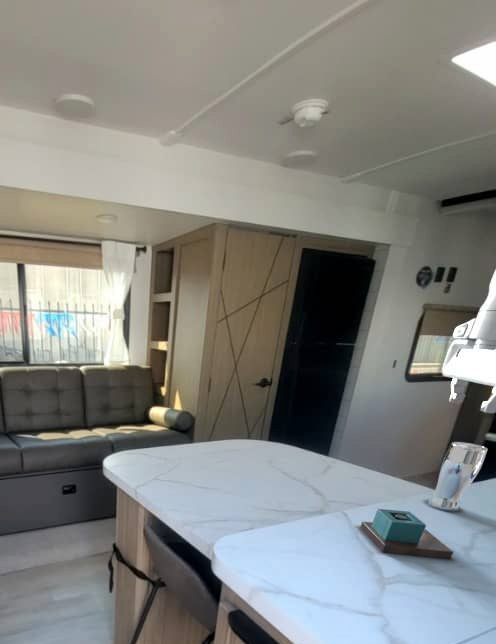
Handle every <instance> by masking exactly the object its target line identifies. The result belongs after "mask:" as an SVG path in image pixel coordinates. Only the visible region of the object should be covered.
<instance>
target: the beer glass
mask: <svg viewBox="0 0 496 644" xmlns="http://www.w3.org/2000/svg"><path fill="white" fill-rule="evenodd" d="M487 452H488V448H487V447H485V446H483V445H479V444H475V443H470V442H464V441H463V442H462V441H452V442H451V443H450V444H449V448H448V449H447V451H446V453H445V454H444V457H443V458H442V462H441V464H440V469H439V473H438V478H437V483H436V486H435V490H434V491H433V493H432V495H431V497H429V499H428V500H427V503H428V505H429V506H431V507H433V508H436V509H438V510H442V511H446V512H457V511H459V510H460V506H461V501H462V498H463V497H464V494H465V492H466V491H467V490H468V488H469V487H470V485H471V484H472V483H473V481H474V480H475V478H476V477H477V475H478V474H479V472H480V470H481V468H482V466H483V463H484V461H485V458H486V455H487Z"/></svg>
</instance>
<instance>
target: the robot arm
mask: <svg viewBox="0 0 496 644" xmlns="http://www.w3.org/2000/svg"><path fill="white" fill-rule="evenodd" d="M487 293H488V294H487V297H486V299H485V301H484V302H483V303H482V305H481V306H480V307H479V311H478V312H477V314H476V317H474V318H472V319H470V320H468V321H467V322H465V323H461V324H460V325H458V326H456V327H455V328H454V331H453V334H452V338H453V339H454V340H453V341H452V342H451V343H450V345H449V346H448V350H447V353H446V356H445V358H444V361H443V365H442V368H441V373H442V376H443V377H447V378H452V381H451V383H450V392H451V394H450V397H449V398H448V402H449V403H453V404H462V403H463V402H464V399H465V398H466V394H464V390H465V386H467V385H468V382H471V383H475V384H479V385H480V384H481V385H484V386H490V387H492V391H491V393H492V395H491V396H490V397H489V398H488V400H486V401H483V402H482V404H481V407H480V411H481V412H483V413H485V414H495V413H496V269H494V272H493V274H492V277H491V279H490V282H489V286H488V292H487Z"/></svg>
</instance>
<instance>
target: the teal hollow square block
mask: <svg viewBox="0 0 496 644" xmlns="http://www.w3.org/2000/svg"><path fill="white" fill-rule="evenodd" d="M397 514H399V515H404V516H406V517H407V521H406V520H396V519H395V518H394V517H395V515H397ZM372 522H373V523H372V527H373V528H374V529H375V531H376V532H377V533H378V534H379V535H380V536H381V537H382V538H383V539H384V540H386V541H397V542H407V543H417V544H418V543H419V541H420V538H421V536H422V534H423V531H424V529H426V527H427V524H425V523H424V522H423V521H422V520H420V519H419V518H418V517H416V515H414V514H413V513H412V512H410V511H407V510H396V509H394V510H393V509H385V508H377V510H376V512H375V514H374V518H373V520H372Z"/></svg>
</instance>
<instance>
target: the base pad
mask: <svg viewBox="0 0 496 644" xmlns="http://www.w3.org/2000/svg"><path fill="white" fill-rule="evenodd" d="M394 518H395V519H396V520H406V521H407V517H406V516H404V515H399V514H397V515H395V517H394ZM372 523H373V521H372V522H370V521H361V524H360V527H359V528H360V529H361V531H363V532H364V534H365V535H366V536H367V537H368V538H369V539H370V540H371V541H372V542H373V544H374V545H375V546H377V548H378V549H379V550H380V551H381V552H382V553H389V554H399V555H410V556H419V557H428V558H429V557H430V558H437V559H438V558H439V559H449V560H451V558H452V556H453V554H454V551H453V550H452V549H451V548H449V547H448V546H447V545H446V544H444V543H443V542H442V541H441V540H439V539H438V538H437V537H436V536H434V535H433V534H432V533H431V532H430V531H429V530H427V529H426V528H425V529H424V531H423V534H422V536H421V538H420V541H419V543H418V544H417V543H407V542H397V541H386V540H384V539H383V538H382V537H381V536H380V535H379V534H378V533H377V532H376V531H375V529H374V528H373V527H372Z"/></svg>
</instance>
